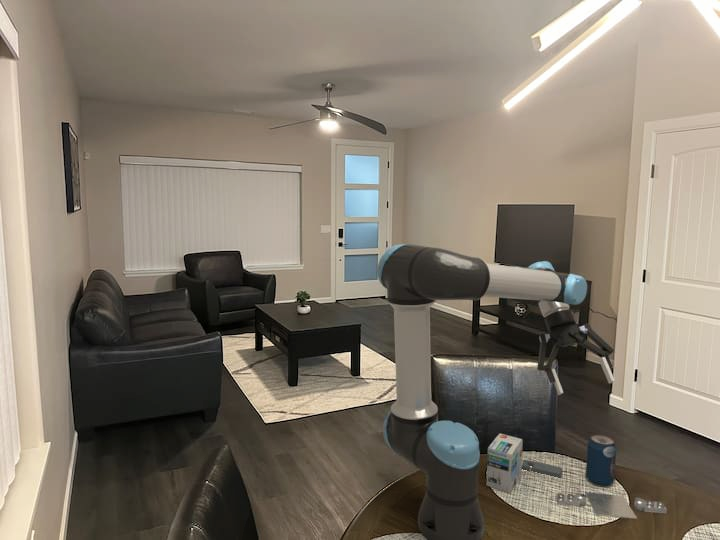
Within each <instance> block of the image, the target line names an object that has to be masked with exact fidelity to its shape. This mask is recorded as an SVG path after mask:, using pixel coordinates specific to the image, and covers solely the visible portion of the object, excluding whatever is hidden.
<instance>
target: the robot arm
mask: <svg viewBox="0 0 720 540" xmlns="http://www.w3.org/2000/svg"><path fill="white" fill-rule="evenodd" d="M376 271H377V278H378V281H379V283H380V285H382V287H383V288H385V289H386V298H387V299H386V301H387V304H389V305H390V306H391V308H393V317H394V318H393V322H394V328H393V329H394V352H395V353H394V354H395V355H394V359H395V360H394V361H395V385H396V386H395V387H396V388H395V390H396V400H395V402H393V403H392V404H391V406H390V410H389V411H388V412H387V414H386V415H387V417H386V418H384V421H383V425H382V434H383V439H384V441H385V443H386V445H387V446H388V447H389V448H390V449H391V450H392V451H393V452H394V453H395V454H396V455H398V456H399V457H402V458H403V459H404V460H406V461H407V462H409V463H411V464H412V465H413V466H414V467H416V468H417V469H419V470H420V471H422V472H423V473H425V476H426V478H425V479H426V480H425V481H426V482H425V484H426V486H425V487H426V488H425V489H426V490H425V494H424V497H423V499H422V502H421V505H420V507H419V510H418V513H417V526H418V530H419V532H420V533H421V535H422V536H423V537H425V538H426V539H427V540H481V539H482V538H483V537H484V533H485V519H484V516H483V511H482V509H481V505H480V503H479V499H478V492H479V491H478V490H479V489H478V488H479V487H478V486H479V472H480V471H479V470H480V458H481V457H480V455H481V453H480V442H479V439H478V436H477V435H476V433H475V432H474V431H473V429H471V428H470V427H468V426H467V425H465V424H463V423H460V422H453V421H452V420H440V421H439V413H438V412H439V411H438V410H439V409H438V406H437V404H436V403H435V402H434V401H433V400H432V367H431V366H432V364H431V363H432V361H431V359H432V357H431V318H430V317H431V316H430V315H431V314H430V312H431V307H432V306H433V305H434V304H435V303H436V302H437V301H478V300H481V299H483V298H485V297H486V298H501V299H515V300H526V301H527V300H529V301H531V300H532V301H537V305H538V307H539V310H540V312H541V314H542V316H543V318H544V323H545V325H546V329H547V330H548V334H545V333H541V334H540V335H539V337H538V339H539V344H540V345H539V353H538V360H537V365H536V366H537V368H536V369H537V371H539V372H541V371H543V372H544V373H545V374H546V376H547V378H548V382H549V383H550V384H551V383H552V384H553V385H554V386H555V387H554V388H555V390H556V392H557V396H561V395H562V394H564V390H563V388H562V387H563V386H562V385H561V383H560V380H559V377H558V374H557V372H556V368H552V366H553V365H554V362H555V359H556V357H557V355H558V352H559V349H560V348H567V347H568V346H575V345H576V344H577V345H578V346H582V347H583V348H585V349H587V350H588V351H589V352H591V353H593V355H596V356H598V357H599V358H600V359H599V360H598V361H599V364H600V366H601V368H602V370H603V373H604V375H605V378H606V380H607V383H608V384H612V383H614V382H615V381H616V380H615V378H614V376H613V375H614V374H613V373H612V369H613V363H612V362H611V359H610V355H612V354H613V353H614V351H615V350H614V349H613V347H611V345H609V344H608V343H607V341H605V340H604V339H603V338H602V337H601V336H600V335H598V333H596V332H595V330H593V328H592V327H591V325H590V323H588V322H586V323H585V324H584V325H582V326H579V325H577V322H576V320H575V317H574V315H573V312H572V310H570V308H571V307H570V305H574V306H575V305H576V306H577V305H579V304H581V303H583V301H584V300H585V298H586V296H587V292H588V283H587V281H586V279H585V278H584V277H583V276H581V275H577V274H575V273H566V272H565V273H564V272H558V271H555V269H554V267H553V265H552V263H551V262H549V261H548V260H546V261H545V260H543V261H537V262H534V263H532V264H530V265H528V266H527V267H522V266H517V265H516V266H510V265H509V266H508V265H501V264H493V263H486V261H485V259H482V258H479V257H474V256H469V255H465V254H460V253H458V252H454V251H452V250H447V249H445V248H440V247H430V246H424V245H417V244H411V243H409V244H408V243H406V244H403V243H402V244H396V245H393V246H391V247H390V248H387V250H386V251H385V252H384V254H382V255H381V257H380V259H379V262H378V264H377V270H376ZM581 332H582V333H583V334H586V336H587V337H588V338H589V339H590V340H591V341H592V342H591V341H589V340H587V339H586V337H584V336H582V335H581ZM549 340H551V341H552V342H554V345H553V347H552V349H551V352H550V355H549V357H548V359H547V362H546V364H545V359H546V350H547V343H548V341H549ZM593 342H594V343H595V344H594V343H593Z"/></svg>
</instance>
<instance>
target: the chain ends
mask: <svg viewBox="0 0 720 540" xmlns="http://www.w3.org/2000/svg"><path fill="white" fill-rule="evenodd" d="M587 498H588V499H587ZM555 499H556V501H558V502H557V504H558V505H559V504H560V505H561V506H569V505H571V506H572V505H573V506H572V507H586V506H587V501H588V502H589V504H590V506H591V509H592V510H593V512H594V514H595V515H596V516H598V517H612V518H613V517H614V518H615V517H616V518H623V519H624V518H625V519H635V520H638V517H637V515H636V514H635V512H634V511H633V509H632V508H631V506H630V504H629V503H628V501H627V500H626V498H625V496H624V495H621V494H606V493H597V492H596V493H593V492H585V493H581V492H576V493H575V494H572V493H568V494H565V493H562V492H561V493H560V492H558V493H555ZM560 505H559V506H560ZM585 505H586V506H585ZM571 506H570V507H571ZM633 508H634V509H635V510H637V511H639V512H644V513H656V514H667V511H668V510H667V507H666V506H665V502H664V501H661V500H658V501H653V500H649V499H648V500H646V499H644V498H641V497H634V501H633Z"/></svg>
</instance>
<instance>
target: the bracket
mask: <svg viewBox="0 0 720 540" xmlns="http://www.w3.org/2000/svg"><path fill="white" fill-rule="evenodd" d="M530 466H532V468H531V467H530ZM522 469H523V470H527V471H529V472H530V471H533V472H537V473H541V474H546V475H550V476H554V477H558V478H561V479H562V476H561V475H562V474H563V467H561V466H557V465H552V464H547V463H542V462H539V461H534V460H529V459H522V465H521V470H522ZM530 469H531V470H530ZM527 471H526V472H527ZM554 477H553V478H554ZM558 478H557V479H558Z"/></svg>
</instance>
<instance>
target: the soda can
mask: <svg viewBox="0 0 720 540" xmlns="http://www.w3.org/2000/svg"><path fill="white" fill-rule="evenodd" d="M586 449H587V450H586V452H587V453H586V462H585V463H586V466H585V476H586V478H587V480H588V481H589V482H590V483H591V484H592V485H594V486H598V487H601V488H604V487H605V488H607V487H610V486H611V485H612V484H613V483H614V482H615V471H616V457H617V446H616V443H615V439H613V438H612V437H611V436H608V435H605V434H592V435H590V439H589V440H588V442H587V448H586Z"/></svg>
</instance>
